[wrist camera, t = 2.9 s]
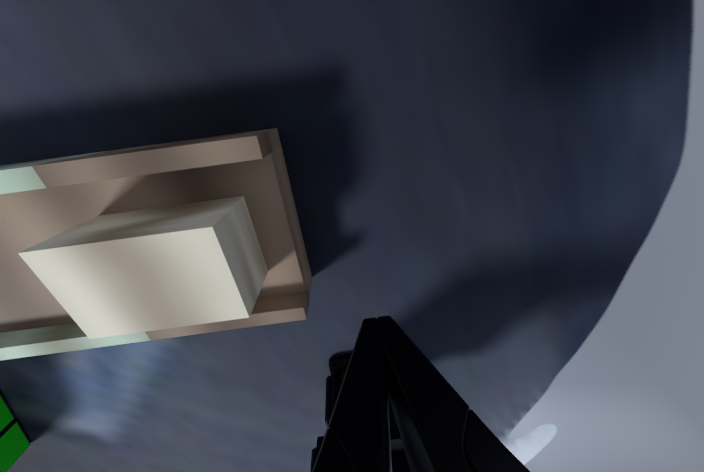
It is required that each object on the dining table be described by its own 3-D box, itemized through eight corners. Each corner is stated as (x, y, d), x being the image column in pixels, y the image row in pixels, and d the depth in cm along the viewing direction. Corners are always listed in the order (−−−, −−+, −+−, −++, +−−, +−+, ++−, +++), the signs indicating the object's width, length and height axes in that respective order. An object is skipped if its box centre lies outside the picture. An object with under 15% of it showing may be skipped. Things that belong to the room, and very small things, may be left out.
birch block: (243, 196, 14) (212, 226, 10) (268, 271, 16) (249, 317, 13) (98, 215, 14) (17, 253, 10) (143, 288, 16) (89, 339, 13)
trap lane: (276, 127, 15) (253, 136, 11) (312, 277, 20) (305, 325, 16) (-188, 190, 15) (-402, 225, 11) (-39, 324, 20) (-143, 385, 16)
